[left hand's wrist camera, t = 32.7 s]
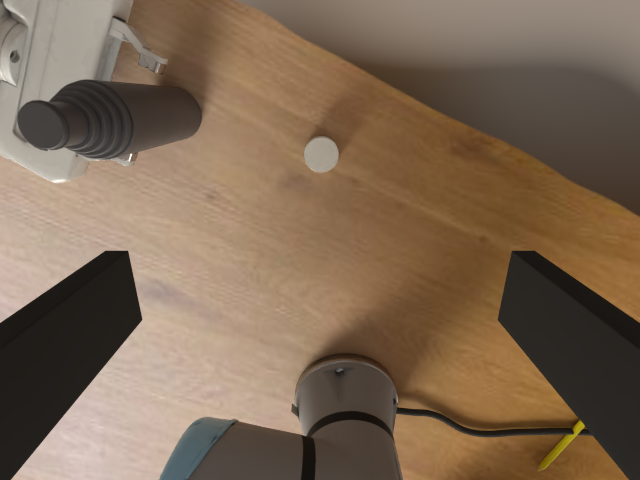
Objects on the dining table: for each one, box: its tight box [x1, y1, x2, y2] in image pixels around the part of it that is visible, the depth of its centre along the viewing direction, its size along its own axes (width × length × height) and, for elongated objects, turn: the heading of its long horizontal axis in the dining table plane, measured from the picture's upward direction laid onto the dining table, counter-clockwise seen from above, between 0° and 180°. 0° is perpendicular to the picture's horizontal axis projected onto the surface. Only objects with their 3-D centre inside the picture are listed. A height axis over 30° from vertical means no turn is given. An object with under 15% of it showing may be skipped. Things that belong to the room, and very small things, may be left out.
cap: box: [304, 135, 339, 172], centre depth 41 cm, size 4×4×2 cm
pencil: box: [537, 420, 585, 472], centre depth 57 cm, size 16×1×1 cm, turn 157°
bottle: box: [17, 79, 201, 160], centre depth 30 cm, size 6×6×21 cm
